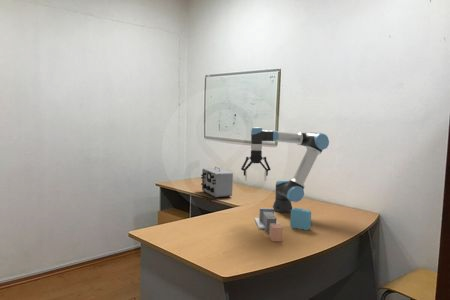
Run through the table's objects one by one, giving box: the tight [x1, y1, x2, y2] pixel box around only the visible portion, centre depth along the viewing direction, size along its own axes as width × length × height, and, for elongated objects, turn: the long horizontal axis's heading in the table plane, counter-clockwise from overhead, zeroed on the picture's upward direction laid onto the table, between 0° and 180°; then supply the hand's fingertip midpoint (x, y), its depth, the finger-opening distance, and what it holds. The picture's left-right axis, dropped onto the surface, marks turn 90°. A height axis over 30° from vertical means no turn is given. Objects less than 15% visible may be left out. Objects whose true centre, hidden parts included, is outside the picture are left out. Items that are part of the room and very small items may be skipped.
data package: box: [289, 207, 312, 231], centre depth 211 cm, size 12×4×12 cm, turn 58°
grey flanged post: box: [254, 207, 279, 232], centre depth 215 cm, size 14×24×10 cm, turn 3°
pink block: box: [269, 222, 283, 242], centre depth 190 cm, size 6×8×8 cm
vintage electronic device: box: [200, 166, 234, 199], centre depth 301 cm, size 32×18×25 cm, turn 25°
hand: (255, 180), depth 230 cm, fingers open, 13 cm apart
